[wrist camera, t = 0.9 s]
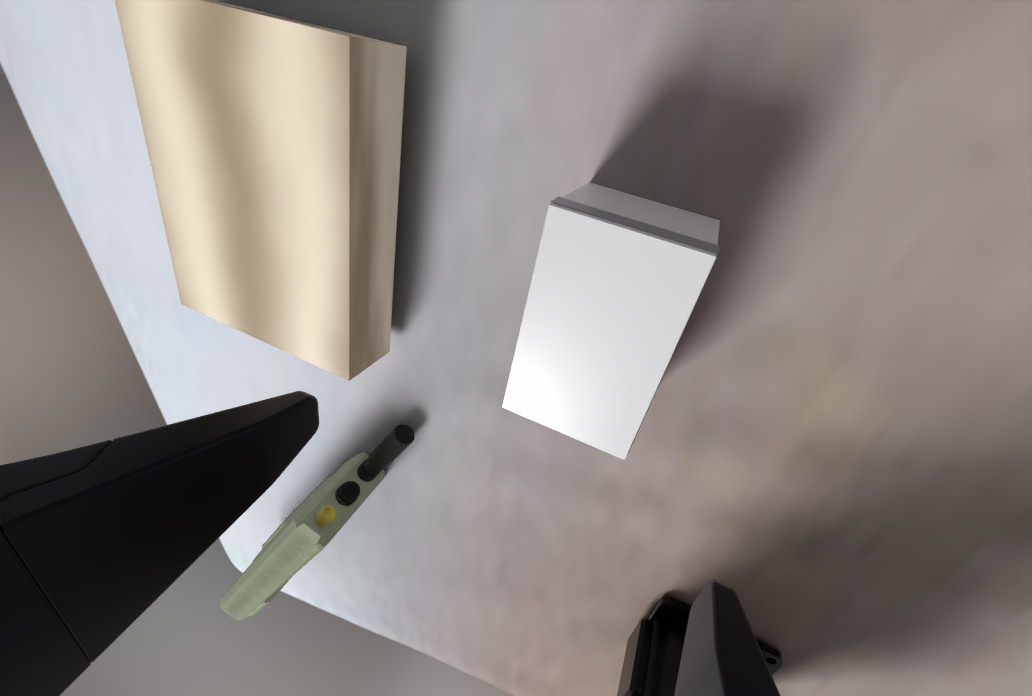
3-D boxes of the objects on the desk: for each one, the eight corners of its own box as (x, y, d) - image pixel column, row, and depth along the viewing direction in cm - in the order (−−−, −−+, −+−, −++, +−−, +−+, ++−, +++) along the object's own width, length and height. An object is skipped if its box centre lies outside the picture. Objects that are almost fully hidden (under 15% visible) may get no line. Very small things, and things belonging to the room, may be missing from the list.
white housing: (722, 218, 17) (719, 255, 13) (646, 392, 21) (625, 461, 17) (589, 180, 18) (547, 202, 14) (543, 351, 22) (500, 407, 18)
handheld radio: (276, 535, 42) (396, 400, 28) (303, 558, 43) (436, 437, 28) (211, 601, 37) (318, 476, 22) (243, 628, 37) (369, 521, 23)
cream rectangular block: (418, 48, 18) (349, 36, 15) (398, 345, 25) (349, 380, 22) (208, -3, 21) (109, -23, 17) (245, 280, 28) (181, 303, 25)
